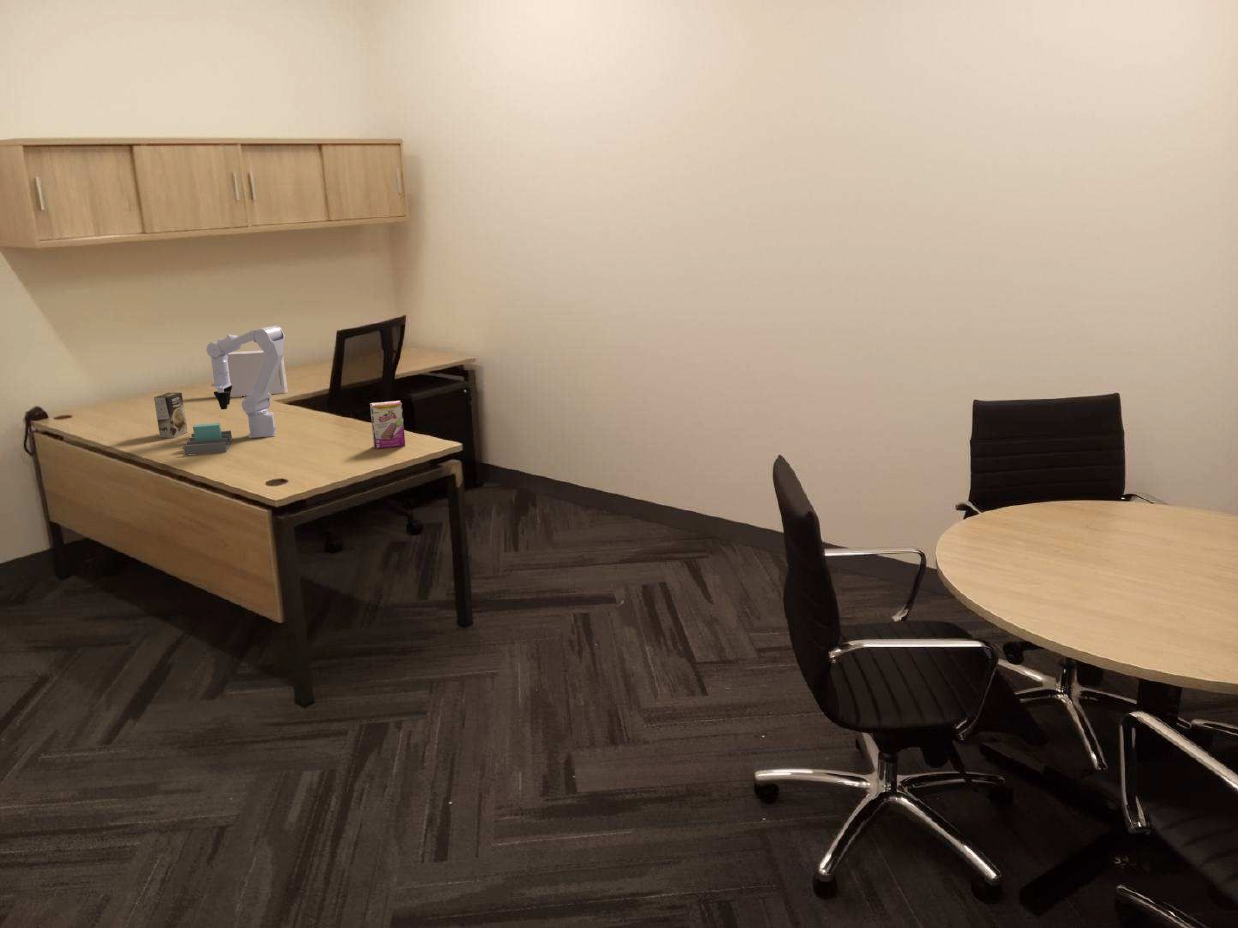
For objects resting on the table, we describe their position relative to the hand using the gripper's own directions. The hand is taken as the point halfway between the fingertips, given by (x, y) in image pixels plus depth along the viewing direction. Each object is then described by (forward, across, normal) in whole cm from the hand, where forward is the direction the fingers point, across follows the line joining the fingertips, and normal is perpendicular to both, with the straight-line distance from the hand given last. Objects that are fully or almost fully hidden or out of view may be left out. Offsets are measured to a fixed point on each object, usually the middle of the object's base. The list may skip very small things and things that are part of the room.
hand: (225, 406), depth 376 cm
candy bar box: (+9, +41, +60) cm, 74 cm away
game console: (+11, -70, +4) cm, 71 cm away
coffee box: (+11, -4, -20) cm, 24 cm away
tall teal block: (+9, +20, -4) cm, 23 cm away
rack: (+10, +20, -4) cm, 23 cm away
